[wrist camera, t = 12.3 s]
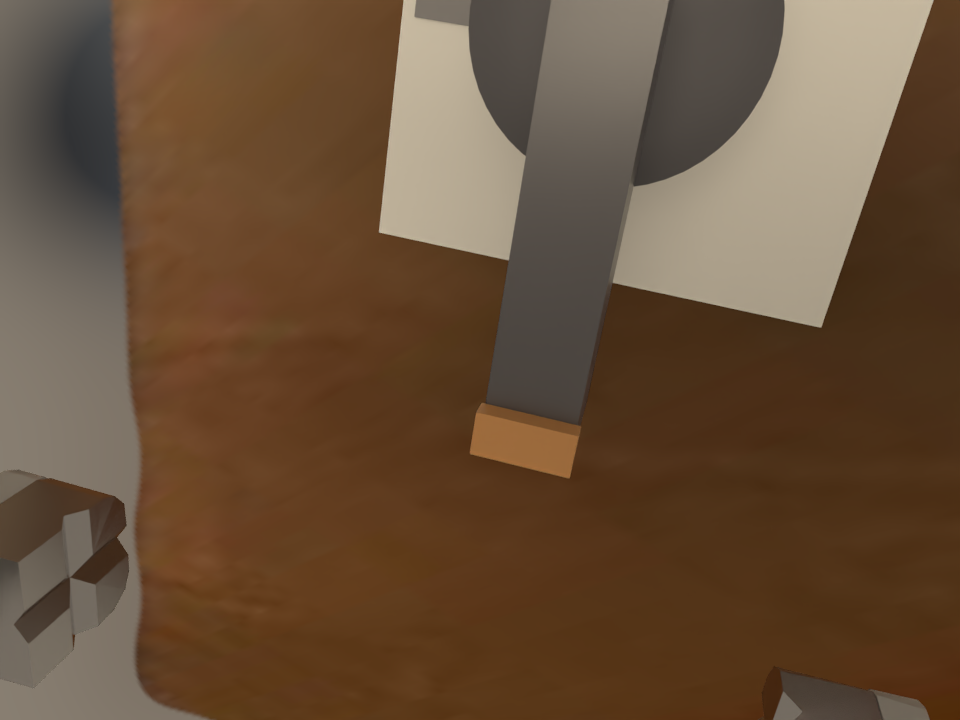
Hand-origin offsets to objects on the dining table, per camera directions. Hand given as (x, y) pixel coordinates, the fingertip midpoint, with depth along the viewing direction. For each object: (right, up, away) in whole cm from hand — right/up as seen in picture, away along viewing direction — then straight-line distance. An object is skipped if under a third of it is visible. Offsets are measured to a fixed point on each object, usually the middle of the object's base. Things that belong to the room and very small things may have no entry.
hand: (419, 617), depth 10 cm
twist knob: (+4, +9, +14) cm, 17 cm away
